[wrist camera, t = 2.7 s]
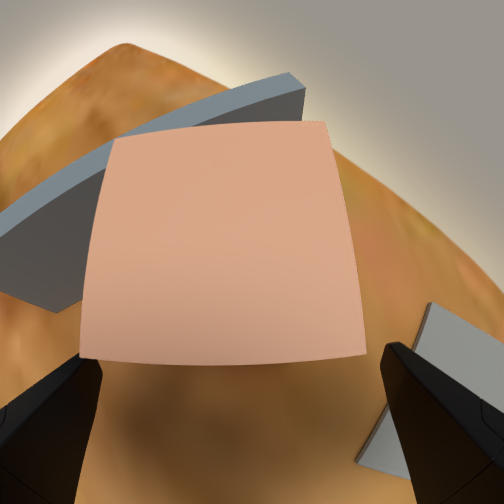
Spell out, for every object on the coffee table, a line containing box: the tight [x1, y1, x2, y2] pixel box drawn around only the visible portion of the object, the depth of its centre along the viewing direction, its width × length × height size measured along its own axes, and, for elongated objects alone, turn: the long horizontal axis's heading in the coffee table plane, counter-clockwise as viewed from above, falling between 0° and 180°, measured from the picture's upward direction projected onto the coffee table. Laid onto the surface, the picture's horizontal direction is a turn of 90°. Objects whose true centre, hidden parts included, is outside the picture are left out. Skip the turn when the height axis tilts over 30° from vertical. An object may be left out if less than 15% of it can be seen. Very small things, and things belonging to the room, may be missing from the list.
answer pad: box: [355, 302, 504, 480], centre depth 15 cm, size 12×12×1 cm
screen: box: [0, 72, 306, 313], centre depth 16 cm, size 20×2×10 cm, turn 117°
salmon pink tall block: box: [79, 121, 367, 365], centre depth 12 cm, size 5×5×14 cm
